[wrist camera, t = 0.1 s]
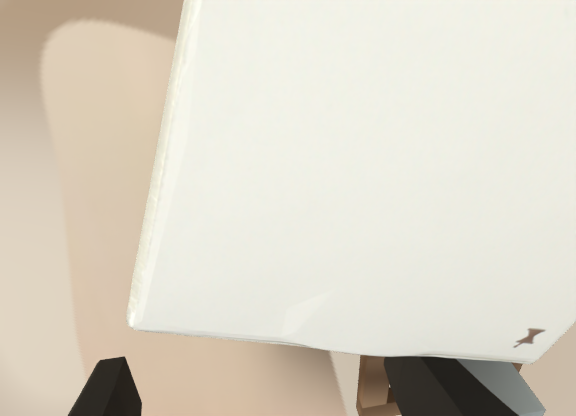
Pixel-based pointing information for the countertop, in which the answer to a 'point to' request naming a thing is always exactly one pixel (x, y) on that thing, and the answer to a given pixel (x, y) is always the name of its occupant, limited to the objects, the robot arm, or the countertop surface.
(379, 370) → the walnut frame
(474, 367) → the painted block
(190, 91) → the small box
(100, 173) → the countertop surface
